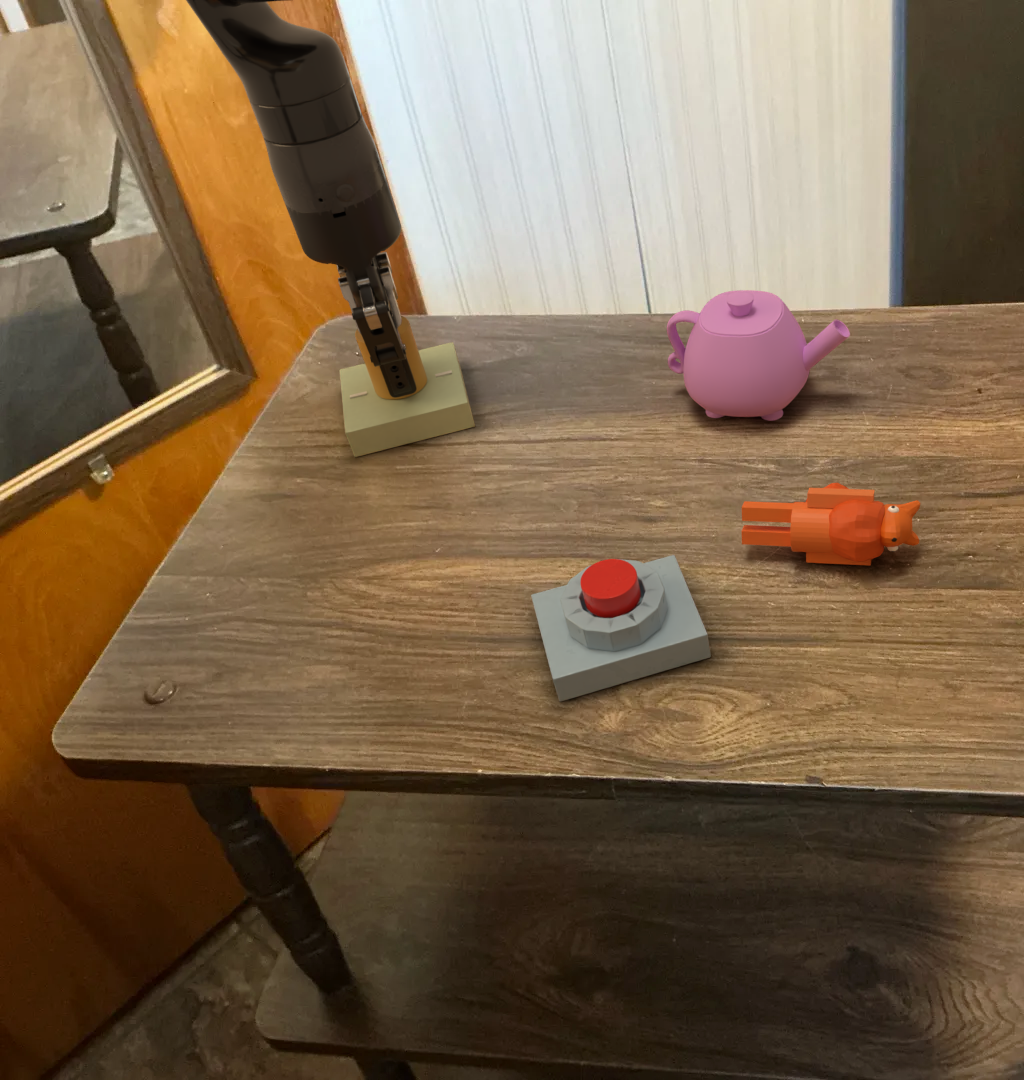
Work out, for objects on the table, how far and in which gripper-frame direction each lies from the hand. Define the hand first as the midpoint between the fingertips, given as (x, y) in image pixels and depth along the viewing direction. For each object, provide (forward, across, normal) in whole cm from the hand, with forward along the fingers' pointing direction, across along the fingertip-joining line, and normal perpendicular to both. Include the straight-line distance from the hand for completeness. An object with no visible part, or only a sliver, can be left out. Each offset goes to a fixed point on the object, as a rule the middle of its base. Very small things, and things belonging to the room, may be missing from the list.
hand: (401, 376), depth 95 cm
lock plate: (+3, 0, 0) cm, 3 cm away
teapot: (+4, +11, +28) cm, 30 cm away
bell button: (0, +33, +11) cm, 35 cm away
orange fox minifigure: (+4, +30, +27) cm, 40 cm away
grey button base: (+3, +33, +11) cm, 35 cm away
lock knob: (+1, 0, 0) cm, 1 cm away
